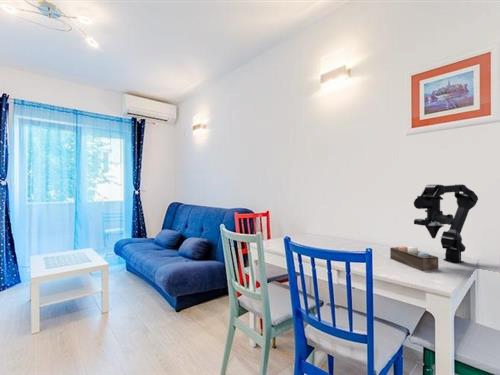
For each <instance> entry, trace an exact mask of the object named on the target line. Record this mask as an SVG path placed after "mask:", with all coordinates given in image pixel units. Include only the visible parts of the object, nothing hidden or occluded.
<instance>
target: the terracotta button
mask: <svg viewBox="0 0 500 375" xmlns="http://www.w3.org/2000/svg"><path fill="white" fill-rule="evenodd" d="M397 247H398V249H399V250H407V248H408V246H403V245H402V246H401V245H400V246H397Z"/></svg>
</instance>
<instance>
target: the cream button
mask: <svg viewBox="0 0 500 375" xmlns="http://www.w3.org/2000/svg"><path fill="white" fill-rule="evenodd" d="M407 248H408V252H409V253H412V254H413V253H418V249H419V248H418V247H416V246H407Z"/></svg>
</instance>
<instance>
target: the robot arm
mask: <svg viewBox="0 0 500 375" xmlns="http://www.w3.org/2000/svg"><path fill="white" fill-rule="evenodd" d="M448 193H454V197H455V198H456V205H457V209H456V211H455V214H454V215H453V214H450V213H449V214H444V212H443V210H441V201H443V200H444V198H443V197H442V196H443V195H445V194H448ZM478 200H479V197H478V195H477V194H476V193H475V191H473V190H472V189H470V188H468V187H467V186H466V184H462V183H461V184H450V185H443V184H427V185H425V187H424V189H423V191H422V193H420V195H417V196H416V198H415V199H414V201H413V206H414V208H416V209H417V210H424V212H425V213H426V217H425V218H415V219H414V220H413V224H414V225H417V226H424V227H425V228H426V230H427V232H428V233H429V235H430V237H431V239H436V237H437V236H438V233H439V230H440V229H441V228H443V227H445V226H444V225H449V226H450V227H449V229H448V230H446V231H445V230H444V231H443V232H442V234H441V236H440V244H441V247H442V249H445V258H443V260H444V261H446V262H450V263H453V264H457V263H458V264H459V263H460V264H461V263H465V261H464V260H462V253H464V252H465V251H466V246H465V245H464V244H463V242H462V241H463V238H462V235H461V232H462V230H463V227H464V224H465V222H466V219H467V216H468V214H469V211H470V210H471V209H473V208H474V207H475V206H476V205H477V202H478Z"/></svg>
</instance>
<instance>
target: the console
mask: <svg viewBox="0 0 500 375" xmlns="http://www.w3.org/2000/svg"><path fill="white" fill-rule="evenodd" d="M419 252H420V251H418V253H419ZM389 253H390V255H389V256H390V257H389V258H390V259H391V260H394V261H397V262H398V263H400V264H404V265H406V266H408V267H412V268H414V269H416V270H419V271H439V256H436V255H432V254H429V257H421V256H418V253H413V254H412V253H409V252H408V247H407V250H399V249H398V246H397V247H390V252H389Z"/></svg>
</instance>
